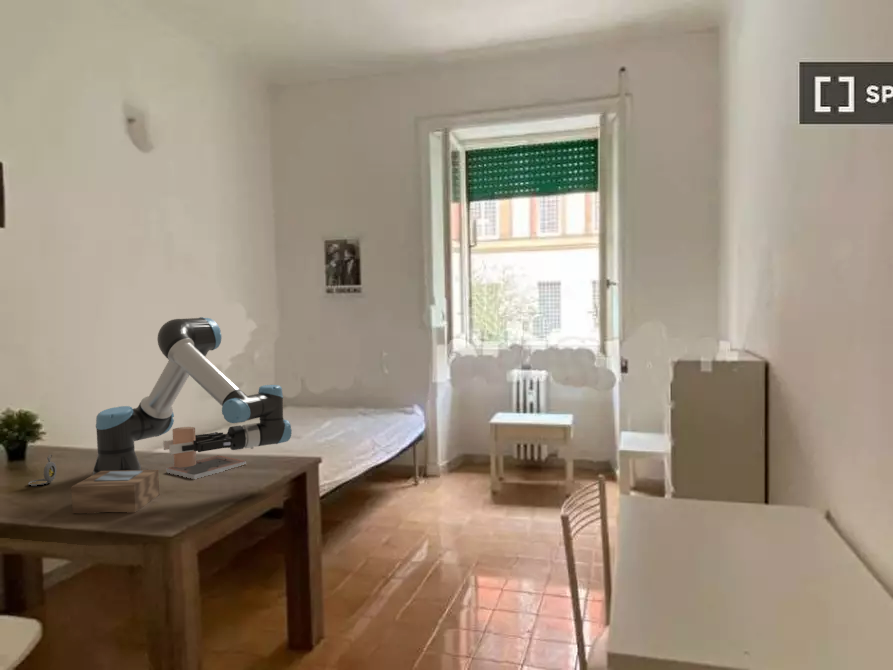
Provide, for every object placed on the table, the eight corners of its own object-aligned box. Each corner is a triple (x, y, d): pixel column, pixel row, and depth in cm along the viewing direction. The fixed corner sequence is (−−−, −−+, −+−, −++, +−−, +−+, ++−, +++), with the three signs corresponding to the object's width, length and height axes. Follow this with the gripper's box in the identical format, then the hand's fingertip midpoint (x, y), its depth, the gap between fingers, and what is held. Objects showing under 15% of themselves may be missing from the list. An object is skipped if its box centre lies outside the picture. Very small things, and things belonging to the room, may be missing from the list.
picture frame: (194, 481, 223) (246, 467, 241) (194, 474, 223) (246, 460, 241) (166, 474, 233) (218, 461, 250) (166, 467, 232) (218, 454, 250)
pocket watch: (27, 484, 221) (25, 454, 221) (56, 479, 226) (54, 451, 226) (29, 489, 215) (28, 459, 214) (59, 484, 220) (57, 455, 219)
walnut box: (102, 495, 206) (100, 469, 206) (159, 494, 207) (158, 468, 206) (72, 513, 189) (71, 485, 189) (135, 512, 190) (134, 484, 189)
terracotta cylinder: (178, 462, 202) (177, 426, 202) (199, 461, 202) (198, 426, 202) (170, 467, 196) (169, 431, 195) (191, 467, 196) (190, 431, 195)
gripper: (253, 454, 202) (175, 466, 188) (233, 443, 217) (159, 453, 204) (253, 430, 201) (174, 440, 188) (232, 420, 217) (158, 429, 203)
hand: (166, 447), depth 196 cm, fingers closed on terracotta cylinder, 6 cm apart
